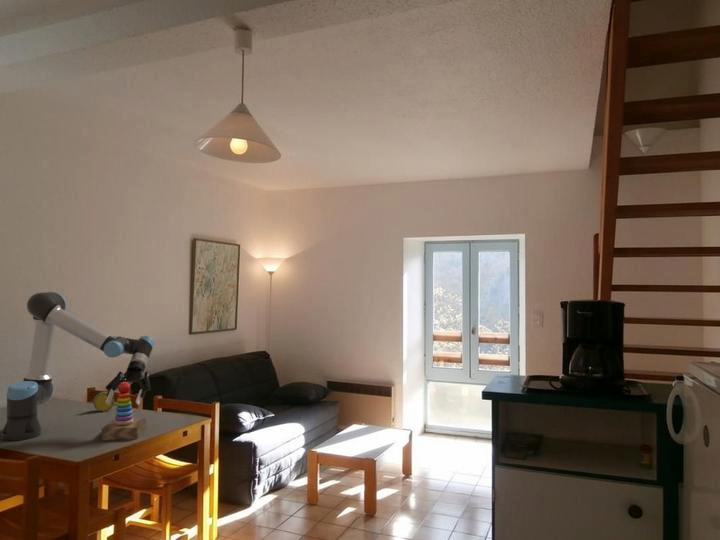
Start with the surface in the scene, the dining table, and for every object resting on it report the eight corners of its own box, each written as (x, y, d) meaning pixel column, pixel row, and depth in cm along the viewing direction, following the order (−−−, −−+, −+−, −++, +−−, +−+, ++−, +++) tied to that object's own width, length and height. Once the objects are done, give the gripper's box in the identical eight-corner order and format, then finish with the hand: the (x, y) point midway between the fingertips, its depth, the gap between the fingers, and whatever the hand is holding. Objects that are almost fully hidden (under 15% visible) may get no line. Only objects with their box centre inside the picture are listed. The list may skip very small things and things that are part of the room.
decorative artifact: (93, 412, 276) (93, 393, 276) (92, 410, 282) (92, 391, 282) (114, 410, 281) (114, 391, 281) (112, 407, 287) (112, 389, 287)
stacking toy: (137, 421, 240) (137, 381, 240) (125, 426, 232) (125, 384, 232) (122, 420, 242) (123, 380, 242) (110, 425, 234) (111, 383, 234)
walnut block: (101, 440, 228) (101, 429, 228) (112, 430, 243) (112, 420, 243) (137, 438, 230) (137, 427, 231) (145, 429, 245) (145, 418, 245)
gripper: (165, 369, 252) (152, 408, 237) (114, 369, 253) (97, 407, 238) (161, 360, 247) (147, 398, 232) (109, 359, 248) (91, 398, 232)
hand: (122, 403), depth 235 cm, fingers open, 13 cm apart
